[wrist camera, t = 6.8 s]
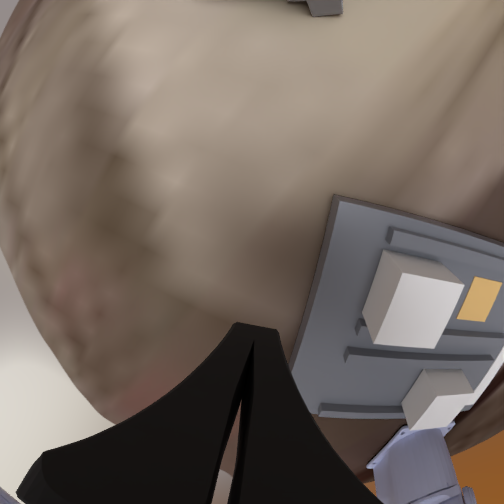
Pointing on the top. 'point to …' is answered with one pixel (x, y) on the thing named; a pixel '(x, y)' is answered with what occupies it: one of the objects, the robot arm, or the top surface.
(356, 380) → the switch board
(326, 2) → the voltmeter
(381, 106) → the top surface
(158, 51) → the top surface
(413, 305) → the tab
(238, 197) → the top surface
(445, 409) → the tab
